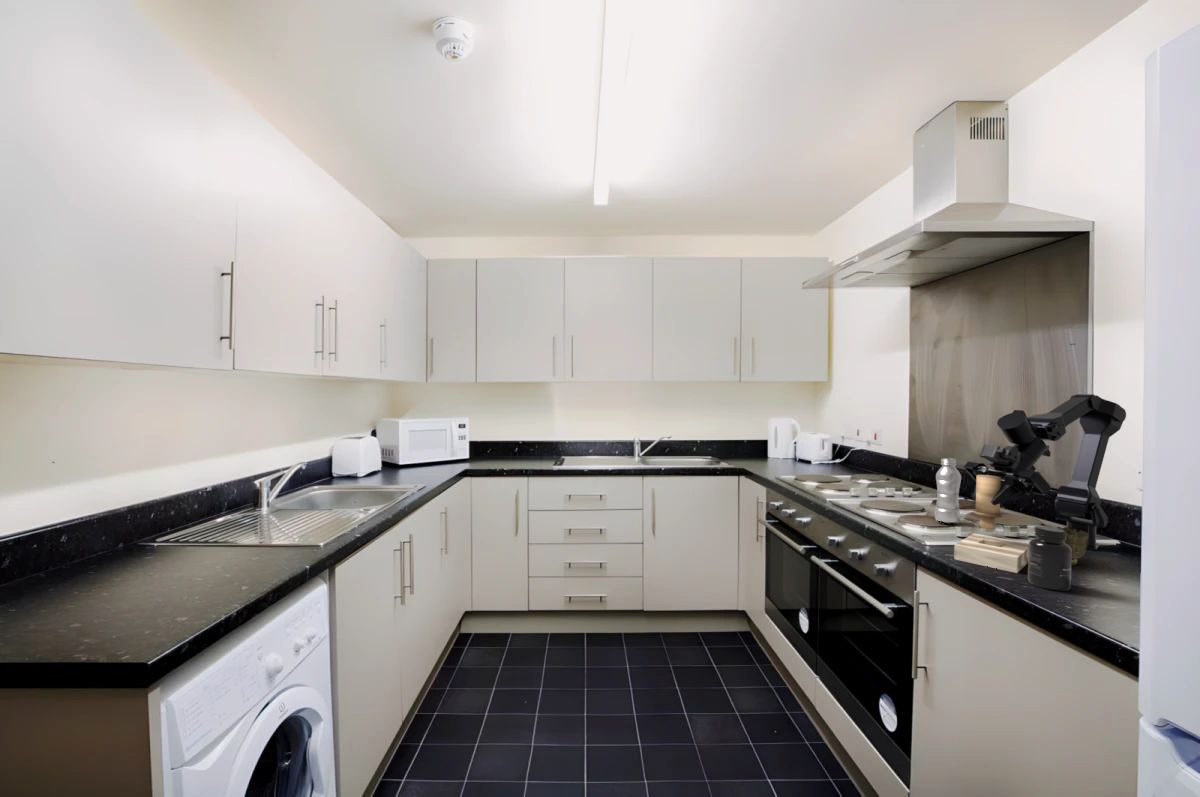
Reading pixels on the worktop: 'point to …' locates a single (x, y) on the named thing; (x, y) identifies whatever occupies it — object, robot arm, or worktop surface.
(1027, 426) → the robot arm
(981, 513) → the oak peg
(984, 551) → the light wooden block
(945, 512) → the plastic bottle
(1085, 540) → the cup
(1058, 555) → the supplement bottle
